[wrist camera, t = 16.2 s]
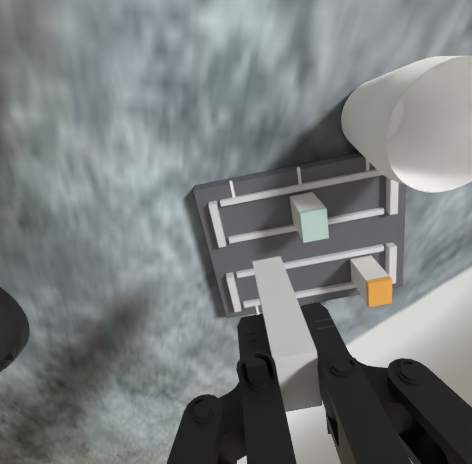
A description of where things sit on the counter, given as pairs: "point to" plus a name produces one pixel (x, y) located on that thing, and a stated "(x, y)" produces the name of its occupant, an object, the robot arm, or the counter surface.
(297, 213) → the block
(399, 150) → the cup
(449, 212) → the counter surface
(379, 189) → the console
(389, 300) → the fader
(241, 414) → the robot arm
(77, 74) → the counter surface
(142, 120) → the counter surface
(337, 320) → the counter surface
